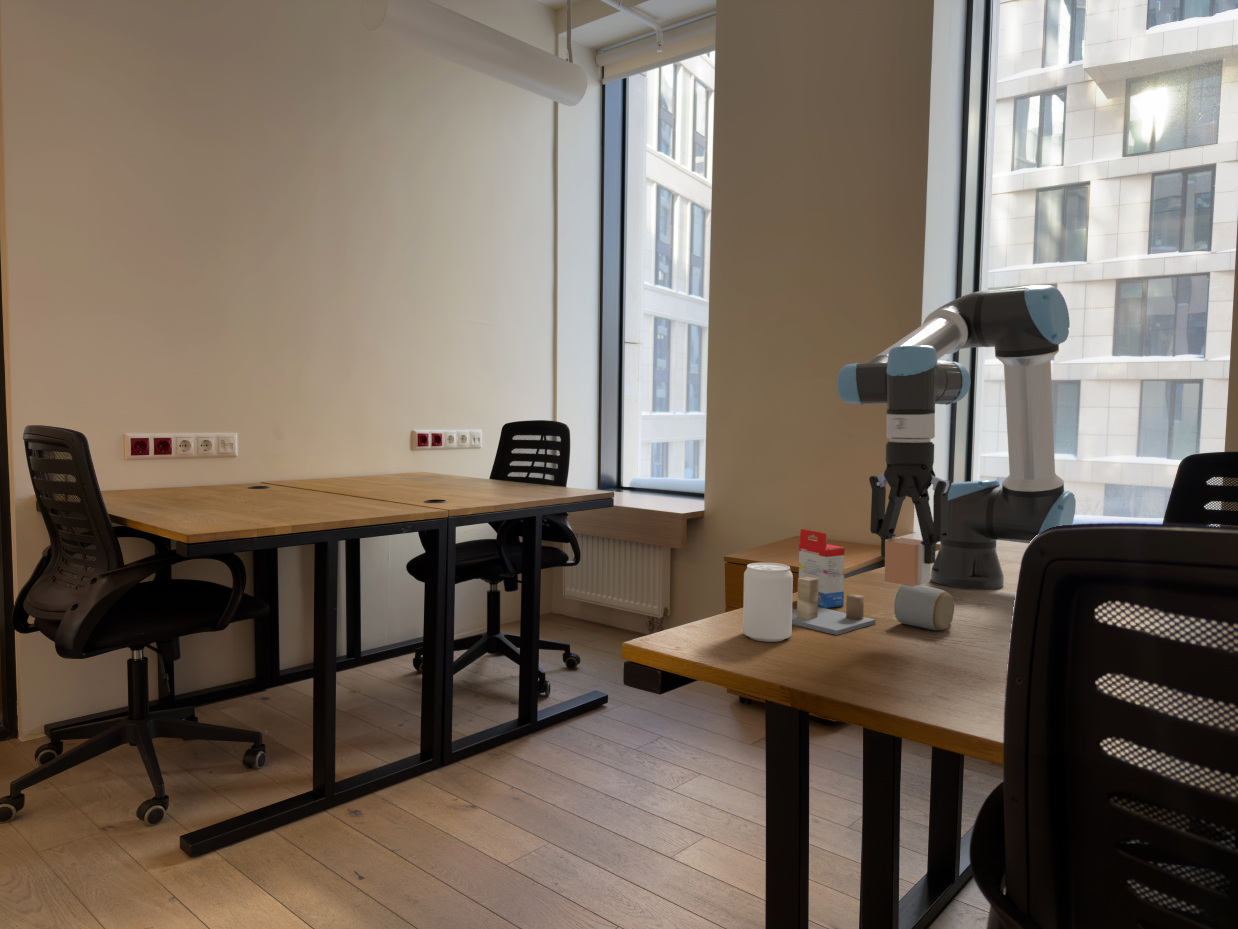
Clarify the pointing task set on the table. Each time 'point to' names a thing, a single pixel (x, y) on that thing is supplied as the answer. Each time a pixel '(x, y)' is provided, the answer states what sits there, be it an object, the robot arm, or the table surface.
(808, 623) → the slate plate
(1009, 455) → the robot arm
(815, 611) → the maple post
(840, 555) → the ink box
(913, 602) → the ceramic mug
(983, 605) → the table surface
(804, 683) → the table surface
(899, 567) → the peach foam cube
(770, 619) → the beverage can
